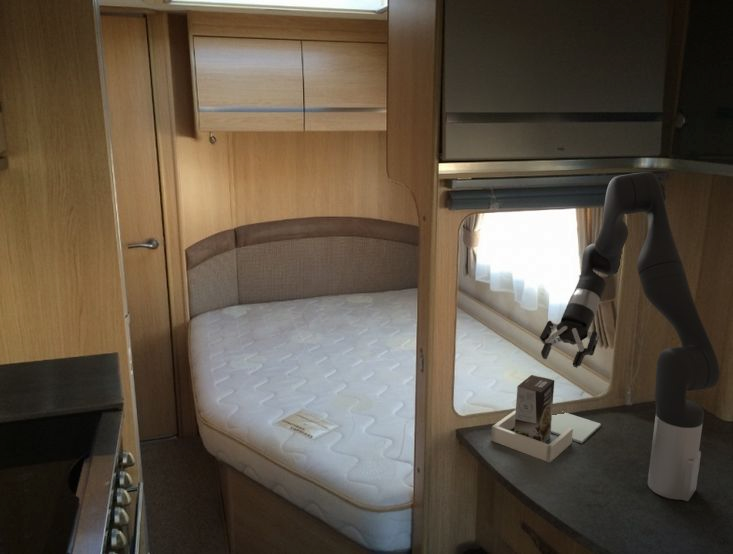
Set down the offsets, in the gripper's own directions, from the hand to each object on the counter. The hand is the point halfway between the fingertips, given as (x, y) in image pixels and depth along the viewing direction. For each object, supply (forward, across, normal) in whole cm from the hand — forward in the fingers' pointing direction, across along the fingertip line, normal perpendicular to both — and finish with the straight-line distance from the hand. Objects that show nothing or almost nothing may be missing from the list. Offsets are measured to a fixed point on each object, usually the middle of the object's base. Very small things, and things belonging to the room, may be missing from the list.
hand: (559, 362), depth 170 cm
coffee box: (+21, 0, +4) cm, 22 cm away
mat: (+12, +3, +13) cm, 18 cm away
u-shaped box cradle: (+21, 0, +4) cm, 22 cm away
